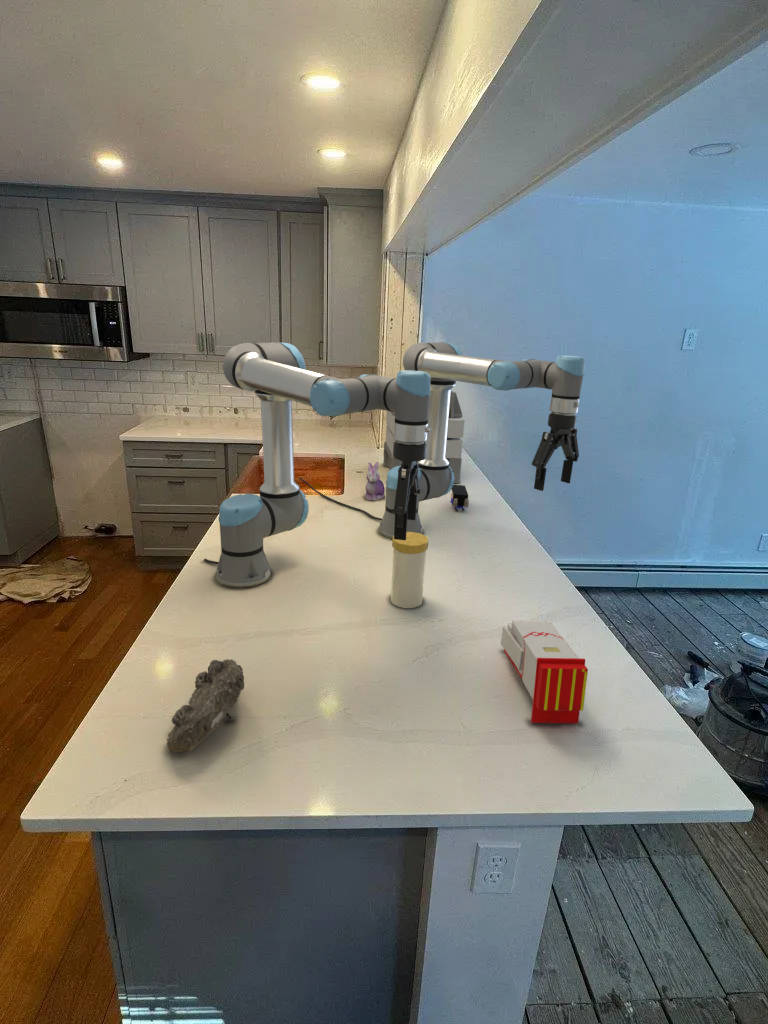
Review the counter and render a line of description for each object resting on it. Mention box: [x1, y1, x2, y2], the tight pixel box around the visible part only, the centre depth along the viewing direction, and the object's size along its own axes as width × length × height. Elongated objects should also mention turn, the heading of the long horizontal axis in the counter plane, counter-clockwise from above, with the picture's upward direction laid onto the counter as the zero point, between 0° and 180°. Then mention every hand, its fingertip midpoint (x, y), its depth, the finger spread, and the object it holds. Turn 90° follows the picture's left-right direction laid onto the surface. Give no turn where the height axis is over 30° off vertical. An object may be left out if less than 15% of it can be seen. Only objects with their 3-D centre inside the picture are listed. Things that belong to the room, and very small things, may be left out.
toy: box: [500, 620, 589, 724], centre depth 121 cm, size 12×13×30 cm
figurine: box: [364, 461, 386, 501], centre depth 234 cm, size 9×10×15 cm
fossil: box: [166, 658, 245, 754], centre depth 106 cm, size 22×10×15 cm
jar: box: [390, 548, 427, 609], centre depth 152 cm, size 9×9×18 cm
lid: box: [391, 532, 429, 554], centre depth 149 cm, size 9×10×2 cm
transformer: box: [383, 390, 465, 484], centre depth 268 cm, size 34×33×41 cm
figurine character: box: [449, 484, 470, 512], centre depth 229 cm, size 7×8×15 cm
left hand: (405, 529), depth 135 cm, fingers open, 13 cm apart
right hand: (552, 485), depth 166 cm, fingers open, 13 cm apart
